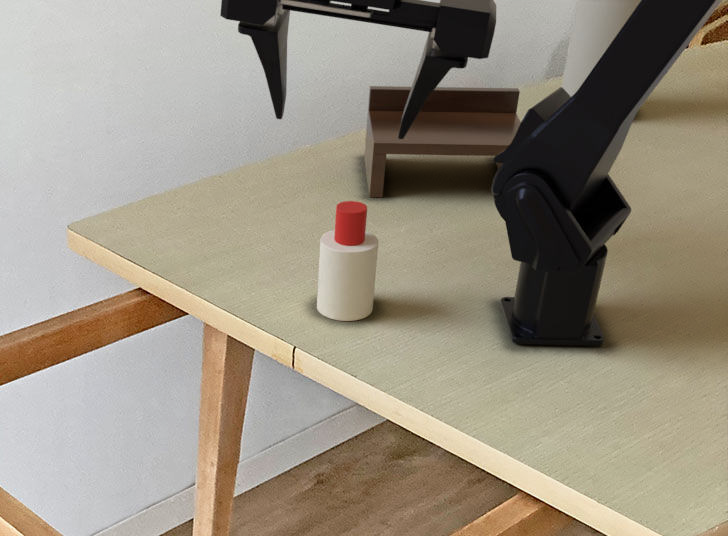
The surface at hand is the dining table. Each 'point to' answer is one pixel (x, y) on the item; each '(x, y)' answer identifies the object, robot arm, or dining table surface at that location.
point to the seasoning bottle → (347, 265)
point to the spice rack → (438, 125)
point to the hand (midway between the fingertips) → (340, 127)
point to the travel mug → (592, 36)
